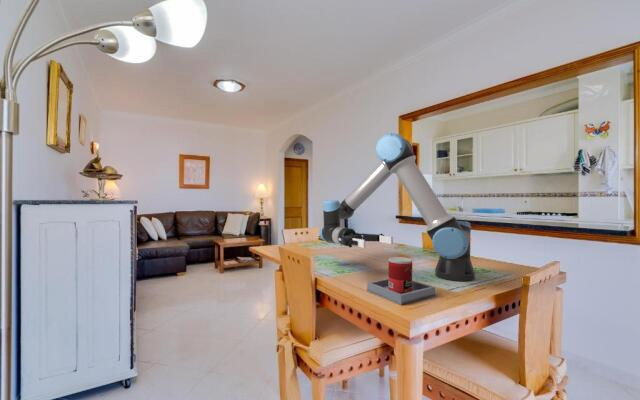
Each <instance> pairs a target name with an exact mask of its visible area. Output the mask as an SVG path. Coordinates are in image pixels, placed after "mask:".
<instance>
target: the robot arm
mask: <svg viewBox="0 0 640 400" xmlns="http://www.w3.org/2000/svg"><path fill="white" fill-rule="evenodd" d="M413 150H414V149H413V145H412V143H411V142H410V141H409V140H408V139H406V138H404V137H403V135H400V134H399V133H396V132H395V133H394V132H393V133H392V132H390V133H386V134H384V135H382V136H381V137H380V138H379V139H378V141H377V143H376V147H375V154H376V156H377V157H378V159H380V161H379V163H378V164H377V165H376V166H375V167H374V168H373V169H372V170H371V171H370V172H369V173H368V174H367V176H366V177H364V178H363V180H361V182H359V184H358V185H357V186H355V188H354V189H353V190H351V192H350V193H349V194H348V195H347V196H346V197H345V198H344V199H343V200H342V201H341V202H340V201H339V200H338V199H335V200H333V199H331V200H330V199H329V200H324V201H323V208H322V212H323V226H322V227H321V228H320V231H319V237H320V238H321V240H322V241H324V242H327V243H329V244H330V243H331V244H336V245H339V246H340V247H342V246H345V247H348V248H353V247H359V248H363V249H364V248H366V242H379V243H383V244H389V245H393V244H394V241H393V237H394V236H390V235H389V236H388V235H385V234H383V233H380V234H378V233H377V234H375V233H359V232H356V231H355V230H354V228H351V227H350V228H348V227H343V226H341V220H347V219H349V218H352V217H353V215H354V214H355V211H356V210H357V209H358V208H359V207H361V205H362V204H363V203H365V201H366V200H367V199H369V197H370V196H371V195H372V194H374V192H375V191H376V190H377V189H378V188H380V186H382V184H383V183H384V182H385V181H387V179H389V177H391V175H392V174H395V175H396V176H397V178H398V180H399V181H400V183H401V184H402V186H403V188H404V189H405V191H406V193H407V194H408V195H409V198H410V199H411V201H412V203H413V204H414V206H415V207H416V208H417V211H418V212H419V215H420V216H421V217H422V219H423V221H424V222H425V224H426V234H427V235H428V236H429V238H430V240H431V243H432V247H433V250H434V251H435V253H437V255H438V256H439V258H438V260H437V264H436V265H435V269H434V274H435V275H434V276H436V277H437V278H440V279H444V280H448V281H454V282H455V281H456V282H471V281H474V280H475V279H476V272H475V269H474V266H473V264H472V260H471V231H472V227H471V223H470V222H469V221H465V220H464V221H463V220H457V218H456V217H455V215H452V214H448V212H447V211H446V209H445V207H444V205H443V203H441V201H440V200H439V198H438V197H437V195H436V193H435V192H434V189H433V188H432V187H431V185H430V184H429V182H428V181H427V178H425V176H424V175H423V172H422V171H421V169H420V168H419V167H418V165H417V163H416V158H417V156H416V155H415V152H414V151H413Z"/></svg>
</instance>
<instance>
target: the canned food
mask: <svg viewBox="0 0 640 400" xmlns="http://www.w3.org/2000/svg"><path fill="white" fill-rule="evenodd" d="M388 278H389V283H388V288H389V290H392V291H394V292H397V293H400V294H404V293H408V292H411V291H412V280H413V260H412V259H411V258H409V257H403V256H402V257H401V256H394V257H389V258H388Z"/></svg>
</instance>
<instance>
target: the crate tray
mask: <svg viewBox="0 0 640 400" xmlns="http://www.w3.org/2000/svg"><path fill="white" fill-rule="evenodd" d="M388 283H389V277H387V278H385V279H384V278H383V279H379V280H375V281H368V282H366V291H367V292H368V293H370V294H373V295H376V296H379V297H380V298H382V299H385V300H388V301H390V302H393V303H395V304H397V305H399V306H403V305H407V304H411V303H414V302H419V301H422V300H425V299H429V298H432V297H433V298H434V297H435V296H436V287H435V286H432V285H430V284H426V283H424V282H423V283H422V282H419V281H415V280H413V279H412V291H411V292H408V293H404V294H400V293H397V292H394V291H392V290H389V288H388Z"/></svg>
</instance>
